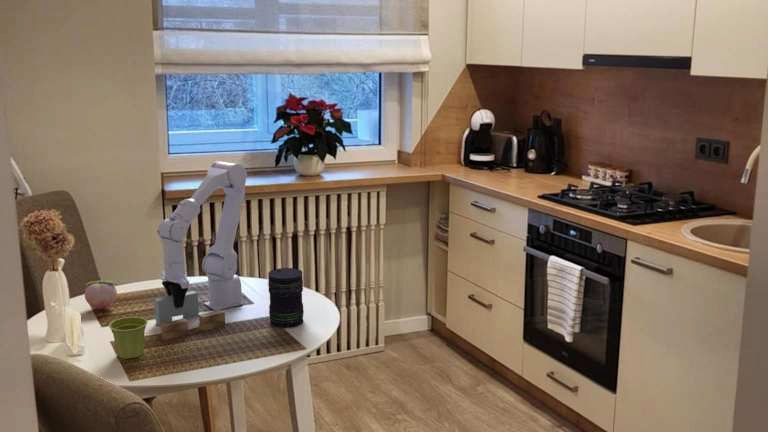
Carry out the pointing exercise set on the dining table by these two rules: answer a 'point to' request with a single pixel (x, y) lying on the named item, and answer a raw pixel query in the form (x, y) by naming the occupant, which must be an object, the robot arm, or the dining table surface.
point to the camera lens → (285, 298)
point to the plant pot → (129, 336)
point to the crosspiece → (167, 308)
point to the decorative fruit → (100, 293)
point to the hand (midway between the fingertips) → (176, 305)
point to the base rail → (182, 328)
